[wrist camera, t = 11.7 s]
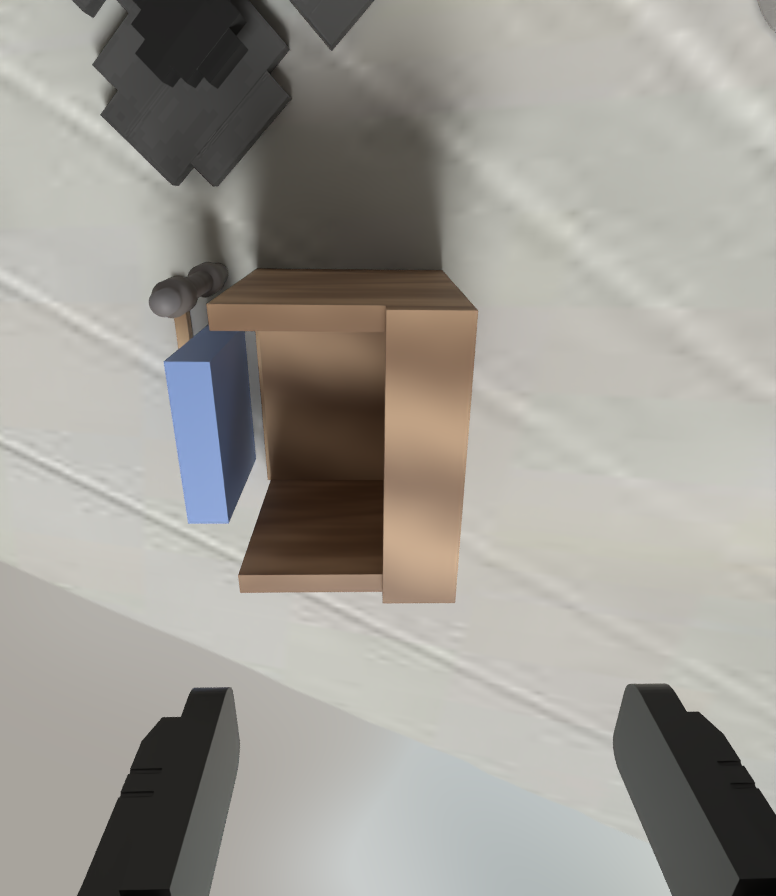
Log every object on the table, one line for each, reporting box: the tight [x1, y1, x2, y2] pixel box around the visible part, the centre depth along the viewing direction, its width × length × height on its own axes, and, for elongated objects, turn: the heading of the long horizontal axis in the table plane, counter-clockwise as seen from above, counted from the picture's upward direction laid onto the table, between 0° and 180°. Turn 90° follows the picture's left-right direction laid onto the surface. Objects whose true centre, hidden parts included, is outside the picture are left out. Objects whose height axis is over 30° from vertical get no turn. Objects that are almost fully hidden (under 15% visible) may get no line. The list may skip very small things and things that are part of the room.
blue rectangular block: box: [164, 325, 256, 523], centre depth 36 cm, size 10×2×9 cm, turn 179°
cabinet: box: [149, 262, 478, 603], centre depth 34 cm, size 17×18×14 cm
